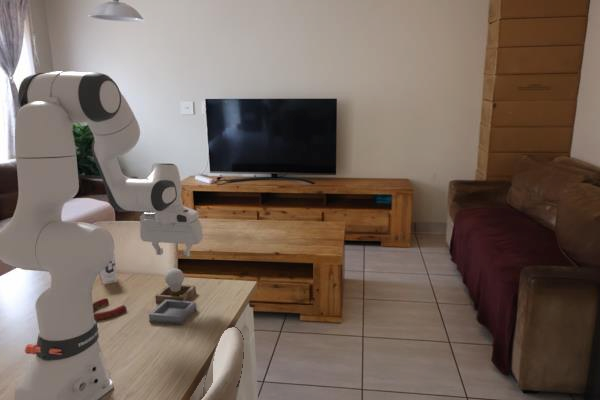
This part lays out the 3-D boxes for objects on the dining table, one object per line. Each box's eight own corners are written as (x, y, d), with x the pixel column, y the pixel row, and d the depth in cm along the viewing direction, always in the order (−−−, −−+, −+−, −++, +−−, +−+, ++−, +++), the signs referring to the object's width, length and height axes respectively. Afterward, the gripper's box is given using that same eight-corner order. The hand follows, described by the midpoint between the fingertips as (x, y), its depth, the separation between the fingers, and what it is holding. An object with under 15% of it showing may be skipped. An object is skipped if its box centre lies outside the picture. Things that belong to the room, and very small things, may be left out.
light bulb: (174, 303, 146) (172, 274, 143) (163, 298, 149) (160, 270, 147) (189, 296, 150) (187, 268, 148) (177, 292, 154) (175, 264, 151)
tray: (180, 325, 132) (180, 317, 131) (149, 321, 134) (148, 314, 133) (195, 309, 141) (195, 301, 141) (166, 306, 143) (165, 299, 143)
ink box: (99, 277, 168) (95, 246, 165) (113, 274, 171) (109, 244, 168) (103, 285, 161) (99, 253, 158) (118, 281, 164) (114, 250, 161)
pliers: (43, 330, 131) (42, 321, 131) (106, 303, 148) (105, 296, 147) (65, 341, 125) (64, 333, 125) (128, 312, 141) (127, 305, 141)
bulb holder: (182, 305, 144) (182, 298, 144) (155, 302, 146) (155, 295, 146) (195, 292, 153) (195, 285, 152) (170, 290, 155) (169, 283, 155)
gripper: (133, 215, 143) (138, 256, 146) (194, 217, 138) (198, 260, 141) (144, 209, 148) (149, 249, 152) (203, 212, 144) (206, 253, 147)
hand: (173, 255), depth 147 cm, fingers open, 8 cm apart
